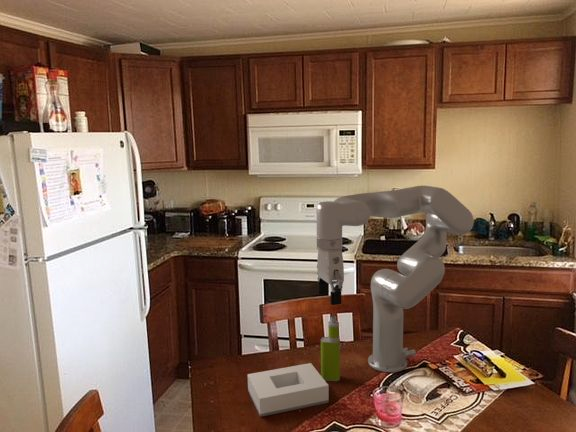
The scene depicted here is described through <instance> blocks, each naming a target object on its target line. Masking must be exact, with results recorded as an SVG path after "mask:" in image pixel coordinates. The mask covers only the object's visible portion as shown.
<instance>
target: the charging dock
mask: <svg viewBox="0 0 576 432" xmlns="http://www.w3.org/2000/svg"><path fill="white" fill-rule="evenodd" d="M329 386H330V385H329V384H328V383H327V381H325V380H324V379H323V378H322V376H321V373H319V371H318V370H317V369H316V368H315V367H314V365H313V364H312V363H311V362H310V363H308V362H307V363H304V364H298V365H292V366H287V367H280V368H275V369H271V370H264V371H258V372H253V373H247V391H248V393H249V396H250V398H251V400H252V402H253V405H254V408H256V411H257V413H258V415H259V417H265V416H266V417H267V416H271V415H276V414H281V413H285V412H291V411H294V410H295V411H296V410H300V409H305V408H309V407H314V406H319V405H324V404H328V403H329V397H330V395H329V391H330V390H329Z"/></svg>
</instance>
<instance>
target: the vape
mask: <svg viewBox="0 0 576 432" xmlns="http://www.w3.org/2000/svg"><path fill="white" fill-rule="evenodd" d="M327 326H328V335H327V336H323V337H321V338H320V375H321V376H322V378H323V379H324V380H325V382H339V381H340V380H341V338H340V328H339V327H340V322H339V320H337V316H335V315H331V316H330V320H329V321H328V323H327Z"/></svg>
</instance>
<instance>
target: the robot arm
mask: <svg viewBox="0 0 576 432" xmlns="http://www.w3.org/2000/svg"><path fill="white" fill-rule="evenodd" d="M420 213H425V214H426V218H425V231H424V234H423V235H422V236H421V237H420V239H418V241H416V242H415V243H414V244H413V245H412V246H410V248H408V249H407V250H406V251H405V252H403V253H402V255H400V257H399V258H398V260H397V263H396V267H397V270H398V271H399V272H398V271H395V270H393V269H390V268H382V269H379V270H377V271H376V272H375V273H374V274H372V277H371V280H370V293H371V297H372V308H373V310H372V312H373V313H372V316H373V319H372V353H371V354H370V355H369V356H368V358H367V362H368V365H369V366H370V368H371V369H372V368H373V369H374V370H376V371H379V372H383V373H398V372H401V371H403V370H405V369H406V368H407V367H408V359H407V358H408V357H413V356H416V355H417V352H416V349H413V348H412V349H408V347H403V346H404V341H403V340H404V309H405V310H407V309H411V308H413V307H414V306H416V305H418V304H419V303H420V302H421V301H423V299H424V298H425V297H427V295H429V294H430V293H431V292H432V291H433V290H434V289H435V288H436V287H437V286H438V285H439V284H440V283H441V281H442V280H443V277H444V275H445V272H446V269H445V268H446V267H445V264H444V262H443V260H442V259H441V258H440V257H442V255H443V254H444V253H445V251H446V248H447V233H448V234H449V233H450V234H453V235H458V236H463V235H466V234H468V233H470V231H471V230H472V229H473V227H474V224H475V223H474V221H475V220H474V216H473V214H472V212H471V211H470V210H469V208H468V207H467V206H465V205H464V203H462V202H460V200H458V198H457V197H455V196H454V195H453V194H452V193H451V192H449V191H448V190H447V189H444V188H442V187H438V186H431V185H417V186H410V187H404V188H399V189H393V190H385V191H376V192H375V191H374V192H366V193H365V192H364V193H354V194H349V195H345V196H340V197H337V198H336V199H335V200H334V201H331V200H330V201H328V200H327V201H320V202H319V203H318V204H317V205H316V250H317V262H316V263H317V265H316V269H317V272H316V275H317V276H318V277H317V294H318V295H326V294H329V286H330V289H331V291H330V305H331V306H337V305H341V304H342V292H343V284H344V281H345V273H344V272H345V271H344V257H343V251H342V249H343V227H345V226H347V227H361V226H364V225H365V224H366V223H367V222H368V221H369V220H370V219H371V217H377V218H383V219H396V218H400V217H405V216H411V215H415V214H420Z"/></svg>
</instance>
